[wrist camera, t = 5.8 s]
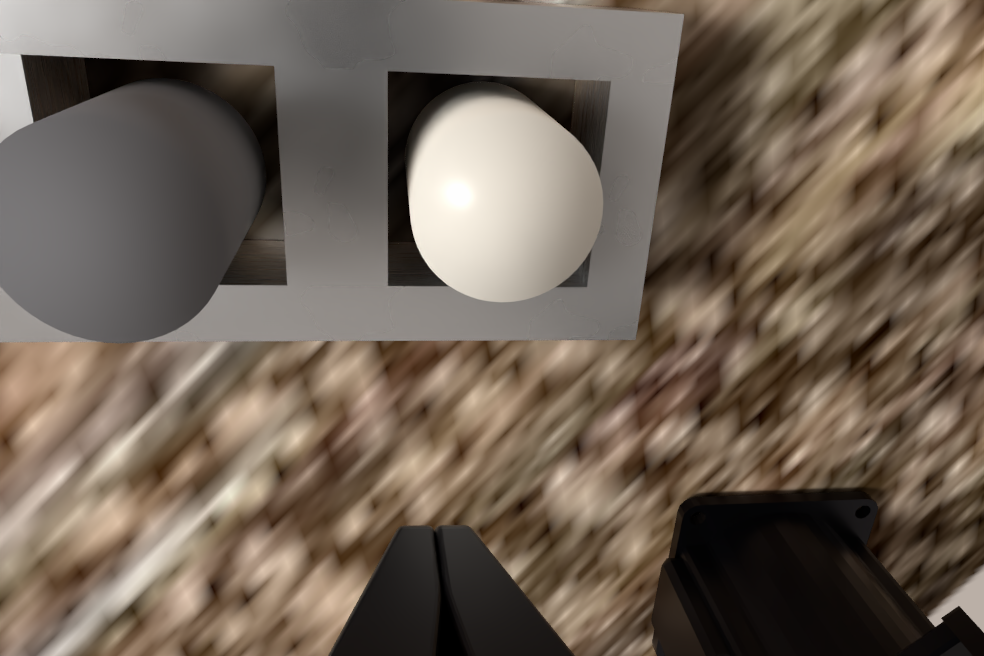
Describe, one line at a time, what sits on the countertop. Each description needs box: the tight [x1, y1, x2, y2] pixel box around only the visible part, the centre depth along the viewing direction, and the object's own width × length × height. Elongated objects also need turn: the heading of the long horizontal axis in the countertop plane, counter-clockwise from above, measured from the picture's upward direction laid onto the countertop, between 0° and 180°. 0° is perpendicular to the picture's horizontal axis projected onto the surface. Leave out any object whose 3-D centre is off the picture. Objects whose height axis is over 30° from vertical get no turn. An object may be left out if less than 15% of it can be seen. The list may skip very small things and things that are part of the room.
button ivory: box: [405, 81, 603, 302], centre depth 16 cm, size 4×4×4 cm
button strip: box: [0, 0, 684, 342], centre depth 16 cm, size 20×7×3 cm, turn 87°
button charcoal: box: [0, 78, 266, 343], centre depth 13 cm, size 4×4×4 cm
